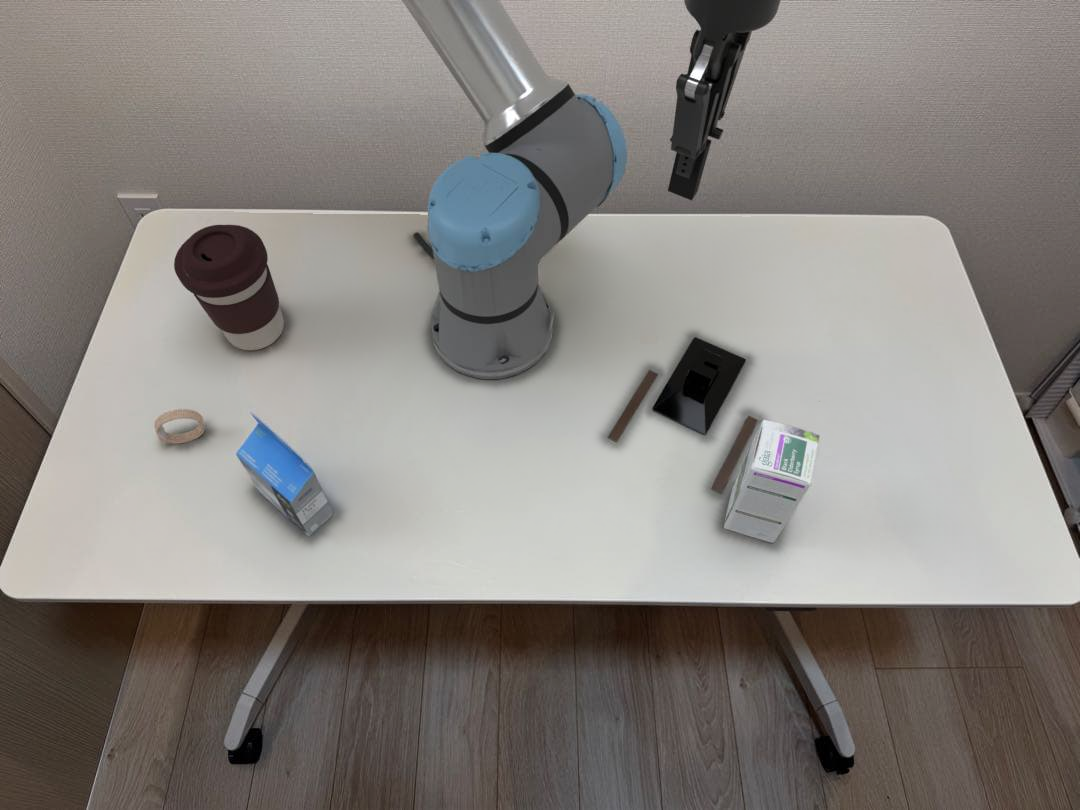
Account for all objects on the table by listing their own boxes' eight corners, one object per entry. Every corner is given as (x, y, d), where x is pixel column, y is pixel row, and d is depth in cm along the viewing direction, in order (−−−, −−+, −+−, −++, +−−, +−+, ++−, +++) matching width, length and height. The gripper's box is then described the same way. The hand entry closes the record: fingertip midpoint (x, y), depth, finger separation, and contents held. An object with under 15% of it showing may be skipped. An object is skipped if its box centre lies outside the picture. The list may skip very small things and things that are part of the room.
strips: (607, 437, 89) (607, 436, 89) (649, 370, 94) (649, 369, 94) (720, 493, 85) (721, 493, 85) (757, 420, 90) (758, 419, 90)
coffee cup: (289, 291, 101) (253, 205, 88) (301, 349, 96) (265, 267, 83) (212, 309, 99) (164, 224, 86) (220, 369, 94) (171, 289, 81)
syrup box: (774, 545, 82) (816, 485, 70) (720, 528, 83) (751, 466, 71) (783, 499, 85) (824, 433, 73) (730, 483, 86) (762, 416, 74)
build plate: (705, 436, 89) (712, 416, 85) (648, 409, 91) (653, 388, 87) (746, 360, 95) (754, 338, 91) (692, 337, 97) (698, 314, 93)
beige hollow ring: (167, 434, 89) (148, 412, 85) (208, 421, 90) (192, 399, 86) (169, 453, 88) (151, 431, 83) (212, 440, 89) (195, 418, 84)
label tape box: (256, 490, 85) (217, 435, 75) (285, 465, 87) (250, 408, 76) (309, 538, 82) (276, 488, 72) (337, 511, 84) (309, 459, 73)
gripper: (757, 17, 54) (691, 246, 75) (815, -67, 61) (739, 166, 81) (661, -15, 56) (622, 217, 76) (727, -94, 62) (674, 141, 82)
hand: (682, 191), depth 79 cm, fingers closed
